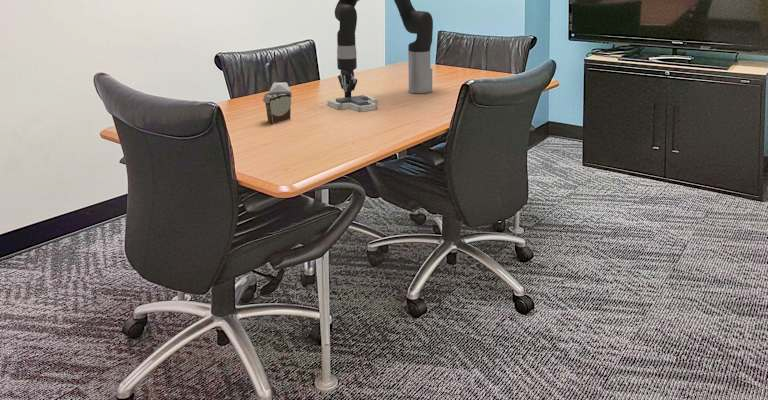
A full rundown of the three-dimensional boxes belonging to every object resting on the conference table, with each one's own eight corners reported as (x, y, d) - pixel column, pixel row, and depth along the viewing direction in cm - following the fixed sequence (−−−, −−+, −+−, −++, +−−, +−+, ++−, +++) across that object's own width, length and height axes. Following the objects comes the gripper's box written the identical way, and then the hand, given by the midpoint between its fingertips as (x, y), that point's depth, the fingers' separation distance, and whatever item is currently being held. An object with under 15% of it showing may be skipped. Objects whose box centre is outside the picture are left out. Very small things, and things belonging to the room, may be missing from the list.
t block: (363, 102, 302) (363, 95, 301) (377, 107, 292) (377, 100, 291) (336, 106, 296) (335, 98, 295) (349, 111, 286) (349, 103, 285)
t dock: (365, 100, 306) (365, 95, 305) (387, 108, 291) (387, 102, 290) (327, 105, 298) (327, 100, 297) (348, 113, 283) (348, 108, 283)
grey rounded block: (282, 107, 298) (295, 86, 299) (262, 96, 299) (275, 74, 299) (285, 111, 307) (297, 89, 307) (265, 99, 307) (278, 78, 307)
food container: (280, 116, 280) (278, 89, 277) (293, 118, 277) (291, 91, 274) (257, 123, 271) (255, 95, 267) (270, 125, 267) (268, 97, 264)
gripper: (363, 58, 291) (364, 102, 297) (347, 53, 302) (349, 97, 308) (345, 59, 288) (347, 104, 293) (330, 55, 298) (332, 99, 304)
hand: (348, 100), depth 300 cm, fingers closed
